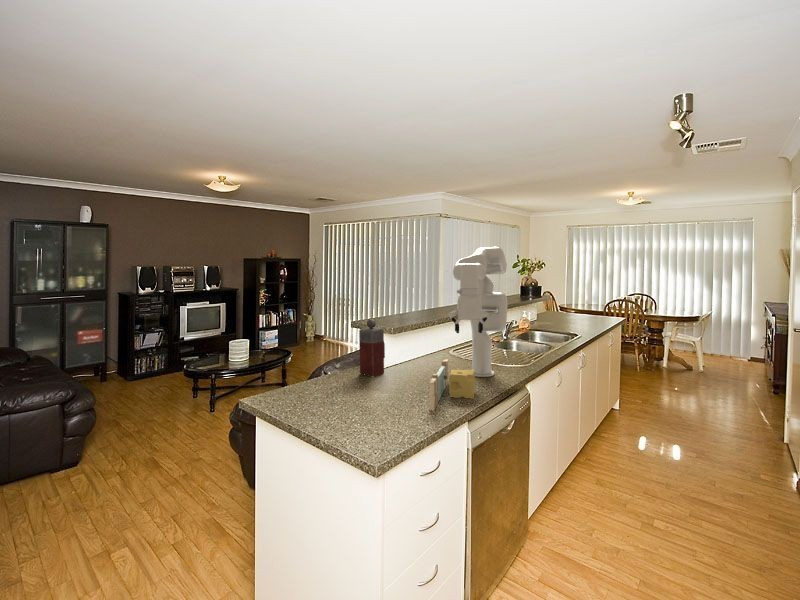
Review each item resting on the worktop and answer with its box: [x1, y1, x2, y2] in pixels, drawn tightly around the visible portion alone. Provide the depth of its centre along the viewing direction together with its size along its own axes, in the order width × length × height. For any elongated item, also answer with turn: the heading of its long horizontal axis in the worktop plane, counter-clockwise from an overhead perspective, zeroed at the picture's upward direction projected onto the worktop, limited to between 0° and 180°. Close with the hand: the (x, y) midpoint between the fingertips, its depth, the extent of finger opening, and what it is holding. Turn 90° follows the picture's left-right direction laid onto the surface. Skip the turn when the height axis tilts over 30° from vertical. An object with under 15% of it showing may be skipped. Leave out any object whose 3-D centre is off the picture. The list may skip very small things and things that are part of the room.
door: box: [436, 365, 447, 402], centre depth 183 cm, size 20×4×10 cm, turn 166°
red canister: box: [358, 318, 386, 377], centre depth 219 cm, size 9×11×28 cm
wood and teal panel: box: [429, 358, 449, 412], centre depth 183 cm, size 40×2×12 cm, turn 166°
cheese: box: [448, 369, 476, 400], centre depth 183 cm, size 10×11×10 cm
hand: (468, 332), depth 183 cm, fingers open, 9 cm apart
